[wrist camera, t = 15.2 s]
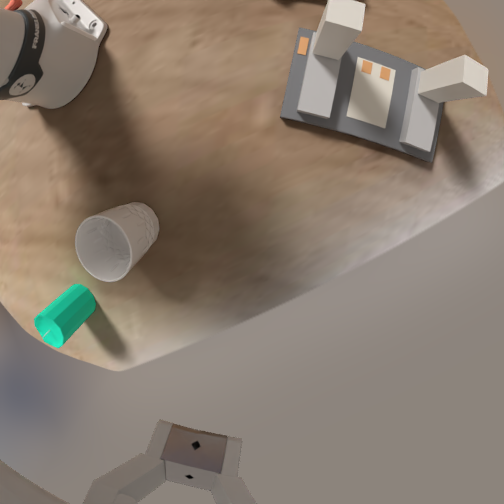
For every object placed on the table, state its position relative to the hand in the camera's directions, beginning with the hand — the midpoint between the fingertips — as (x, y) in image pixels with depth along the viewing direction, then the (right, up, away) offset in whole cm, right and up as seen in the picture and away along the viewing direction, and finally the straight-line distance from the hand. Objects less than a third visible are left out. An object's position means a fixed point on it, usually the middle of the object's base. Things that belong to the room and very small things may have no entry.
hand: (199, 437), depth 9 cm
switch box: (+16, +26, +22) cm, 38 cm away
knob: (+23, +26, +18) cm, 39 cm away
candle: (-27, -1, +36) cm, 46 cm away
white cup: (-14, +10, +31) cm, 35 cm away
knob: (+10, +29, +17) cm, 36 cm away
